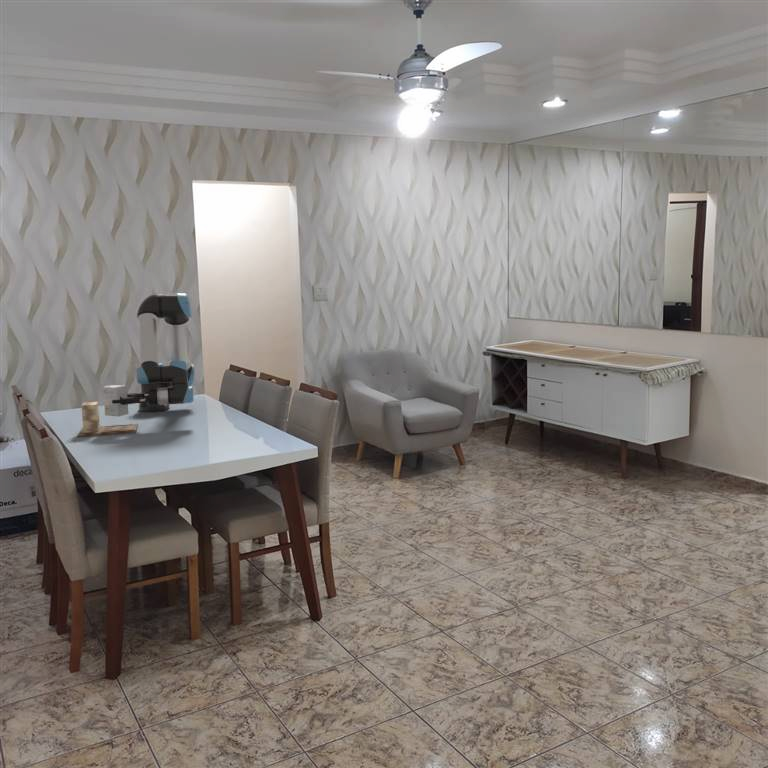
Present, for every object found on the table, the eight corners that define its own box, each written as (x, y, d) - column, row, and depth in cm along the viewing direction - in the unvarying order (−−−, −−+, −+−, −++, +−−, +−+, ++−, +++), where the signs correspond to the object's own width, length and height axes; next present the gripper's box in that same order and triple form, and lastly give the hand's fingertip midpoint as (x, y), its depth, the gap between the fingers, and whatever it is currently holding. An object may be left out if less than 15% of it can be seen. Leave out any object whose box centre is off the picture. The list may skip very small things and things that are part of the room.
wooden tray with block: (138, 425, 344) (136, 397, 342) (136, 433, 329) (134, 403, 327) (82, 429, 338) (79, 401, 336) (77, 437, 323) (75, 407, 321)
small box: (129, 414, 334) (126, 385, 332) (118, 416, 328) (115, 387, 327) (115, 413, 338) (113, 384, 336) (104, 415, 332) (102, 386, 330)
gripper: (158, 409, 327) (103, 412, 321) (159, 401, 348) (108, 404, 342) (156, 392, 325) (102, 395, 320) (158, 385, 347) (107, 388, 341)
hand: (105, 400), depth 331 cm, fingers closed on small box, 10 cm apart
